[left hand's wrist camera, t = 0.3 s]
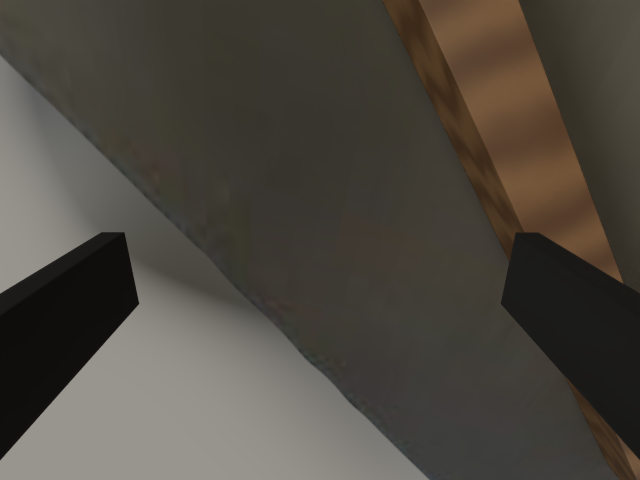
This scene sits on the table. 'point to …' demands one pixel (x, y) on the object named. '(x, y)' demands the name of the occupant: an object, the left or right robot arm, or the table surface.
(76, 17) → the table surface
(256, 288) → the table surface
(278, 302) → the table surface
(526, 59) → the beam
